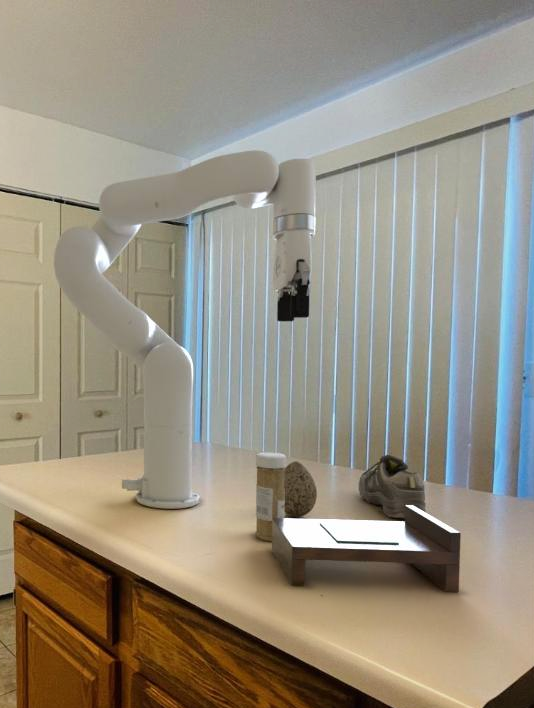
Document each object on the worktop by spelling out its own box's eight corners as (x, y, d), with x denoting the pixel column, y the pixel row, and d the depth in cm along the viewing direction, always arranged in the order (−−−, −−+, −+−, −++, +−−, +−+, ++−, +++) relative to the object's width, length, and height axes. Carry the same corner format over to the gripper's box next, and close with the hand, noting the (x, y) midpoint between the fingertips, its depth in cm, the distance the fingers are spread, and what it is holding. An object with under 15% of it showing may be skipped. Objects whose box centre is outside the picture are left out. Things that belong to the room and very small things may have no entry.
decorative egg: (307, 524, 90) (308, 467, 89) (268, 516, 94) (268, 462, 94) (321, 515, 95) (323, 461, 95) (283, 508, 100) (284, 456, 99)
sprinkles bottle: (290, 540, 82) (291, 456, 81) (263, 543, 81) (265, 457, 80) (274, 531, 86) (276, 450, 86) (249, 533, 85) (250, 452, 85)
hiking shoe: (400, 482, 111) (374, 434, 110) (453, 524, 90) (422, 465, 89) (359, 502, 112) (333, 455, 111) (403, 547, 92) (371, 489, 91)
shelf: (291, 585, 66) (292, 527, 65) (271, 550, 78) (272, 501, 77) (459, 592, 64) (461, 532, 64) (411, 555, 76) (413, 505, 76)
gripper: (263, 239, 108) (262, 322, 109) (285, 217, 91) (283, 316, 92) (300, 239, 108) (299, 322, 108) (329, 216, 90) (327, 315, 91)
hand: (292, 319), depth 100 cm, fingers open, 9 cm apart
